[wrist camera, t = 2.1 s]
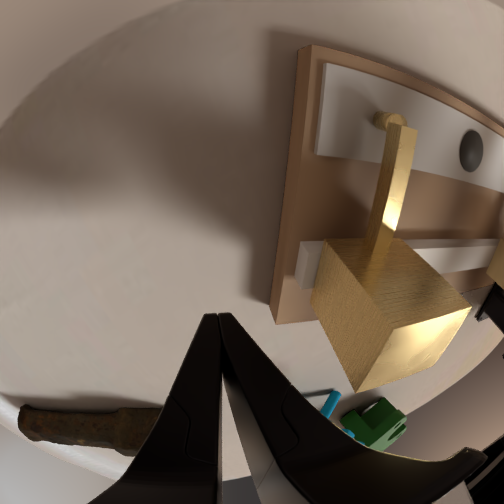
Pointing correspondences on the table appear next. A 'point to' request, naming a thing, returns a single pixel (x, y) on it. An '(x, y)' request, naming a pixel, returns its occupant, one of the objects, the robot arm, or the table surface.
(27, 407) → the hand tool
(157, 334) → the table surface
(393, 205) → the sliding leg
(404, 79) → the wooden base with blocks
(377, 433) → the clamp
